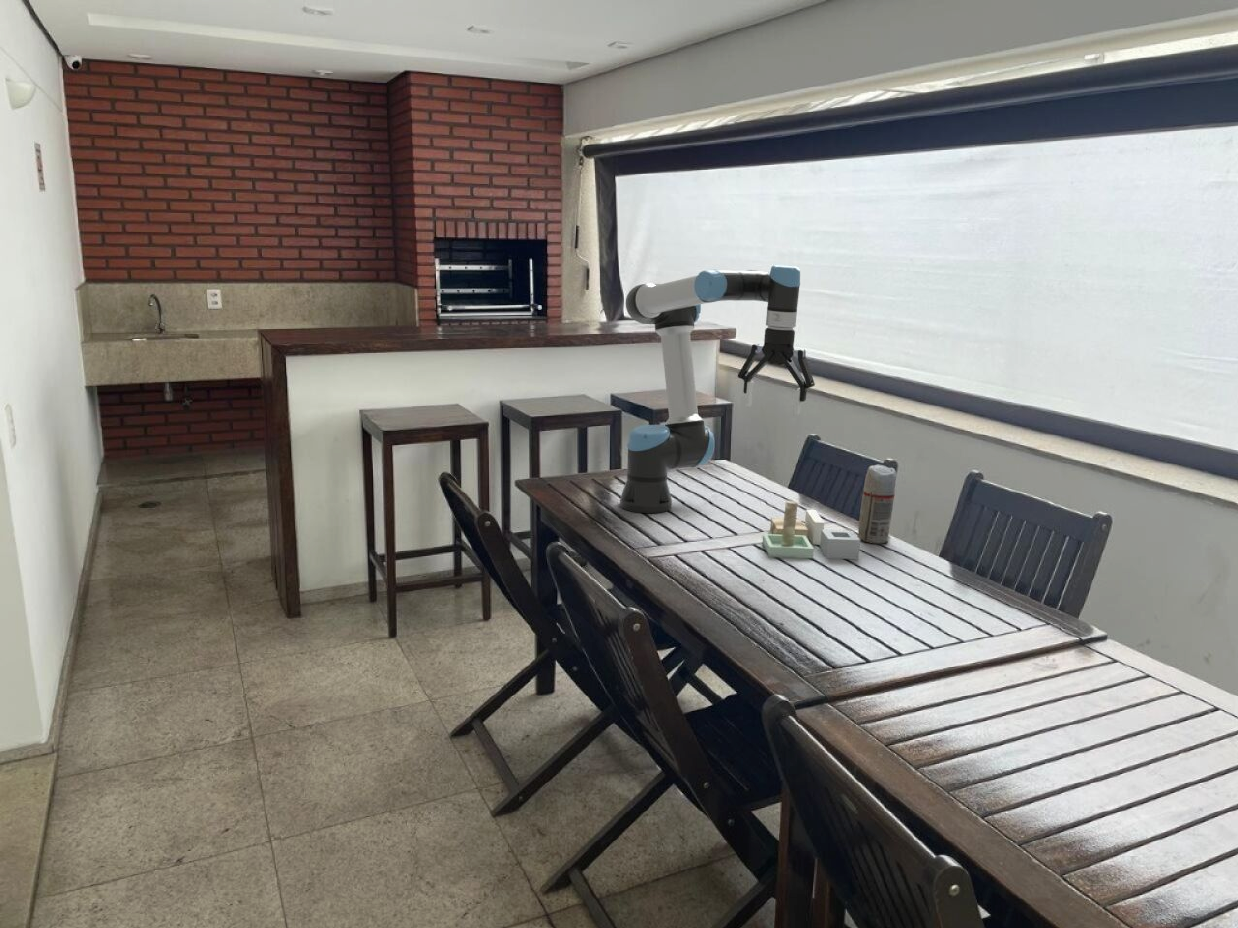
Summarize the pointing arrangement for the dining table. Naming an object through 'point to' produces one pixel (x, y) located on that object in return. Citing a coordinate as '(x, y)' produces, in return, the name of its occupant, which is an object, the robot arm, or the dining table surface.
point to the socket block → (840, 544)
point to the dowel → (789, 524)
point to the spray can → (877, 504)
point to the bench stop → (814, 526)
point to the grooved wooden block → (777, 527)
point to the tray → (798, 550)
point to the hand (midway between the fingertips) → (772, 410)
